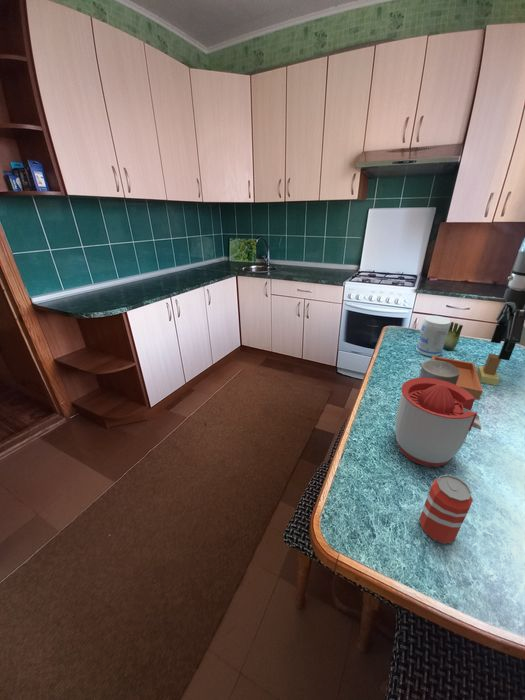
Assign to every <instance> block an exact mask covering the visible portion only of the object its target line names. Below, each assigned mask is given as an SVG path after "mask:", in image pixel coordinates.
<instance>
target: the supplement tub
mask: <svg viewBox="0 0 525 700" xmlns="http://www.w3.org/2000/svg"><path fill="white" fill-rule="evenodd" d="M451 322H452V321H451V320H450V319H449V318H447V317H444V316H440V315H427V316H425V317H424V319H423V322H422V324H421V328H420V331H419V335H418V339H417V343H416V347H415V348H416V349H415V350H416V352H417V353H419V354H420V355H423V356H426V357H432V356H436V357H440V356H441V355H442V353H443V350H444V348H443V347H444V344H445V341H446V337H447V334H448V331H449V328H450V325H451Z"/></svg>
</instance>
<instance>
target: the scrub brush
mask: <svg viewBox="0 0 525 700" xmlns="http://www.w3.org/2000/svg"><path fill="white" fill-rule="evenodd" d="M498 357H499V354H495V353H488V355H487V358H486V361H485V364H484V366H483V365H478V367H477V368H476V370H477V374H478V377H479V380H480V384H486V385H491V386H495V387H497V386H498V384H499V383H500V377H499V374H498V372H497V370H498V368H499V366H500V364H501V361H502V359H498Z"/></svg>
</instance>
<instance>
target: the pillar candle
mask: <svg viewBox="0 0 525 700" xmlns="http://www.w3.org/2000/svg"><path fill="white" fill-rule="evenodd" d="M459 374H460V371H459V369H458V368H457V367H455V366H454V365H452V364H450V363H447V362H444V361H439V360H432V359H428V360H424V361H423V362H422V363H421V368H420V372H419V375H418V378H433V379H439V380H443V381H446V382H449V383H452V384H454V385H456V383H457V380H458V377H459Z"/></svg>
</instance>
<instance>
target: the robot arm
mask: <svg viewBox="0 0 525 700" xmlns="http://www.w3.org/2000/svg"><path fill="white" fill-rule="evenodd" d="M507 280H509V281H508V284H507V286H508V287H506V288H505V291H504V294H503V300H504V301H505V302H504V304H503V306H502V308H501V309H500V311H499V313H498V315H497V317H496V318H495V320H496V325H495V329H494V331H493V334H492V336H491V340H490V342H491V343H493V344H502V340H503V344H502V347H501V349H500V352H499V354H498V355H499V357H498V359H501V360H504V361H510V359H511V357H512V354H513V352H514V349H515V346H516V344H520V343H521V340H522V339H521V338H522V335H523V330H524V325H525V238H523V240H522V243H521V245H520V248H519V249H518V253H517V256H516V260H515V263H514V266H513V269H512V271H511V276H507ZM506 330H507V333H506V338H504V339H503V337H504V336H505V332H506Z"/></svg>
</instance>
